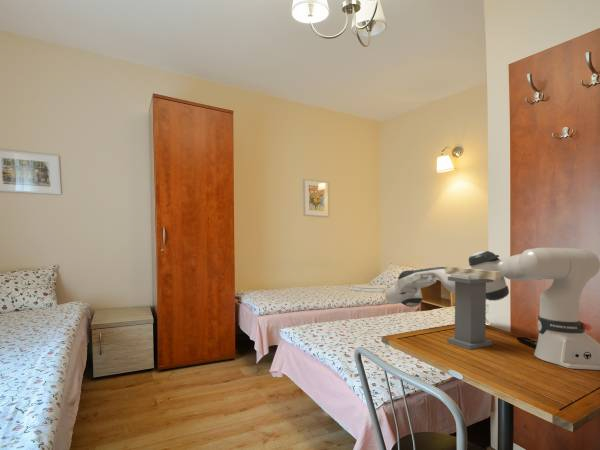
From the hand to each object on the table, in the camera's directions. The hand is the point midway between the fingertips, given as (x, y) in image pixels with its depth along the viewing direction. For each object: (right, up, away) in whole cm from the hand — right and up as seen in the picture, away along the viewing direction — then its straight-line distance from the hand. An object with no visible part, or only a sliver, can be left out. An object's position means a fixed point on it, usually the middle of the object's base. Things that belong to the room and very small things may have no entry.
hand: (428, 275), depth 161 cm
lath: (+10, +2, -19) cm, 21 cm away
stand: (+8, -24, -23) cm, 34 cm away
